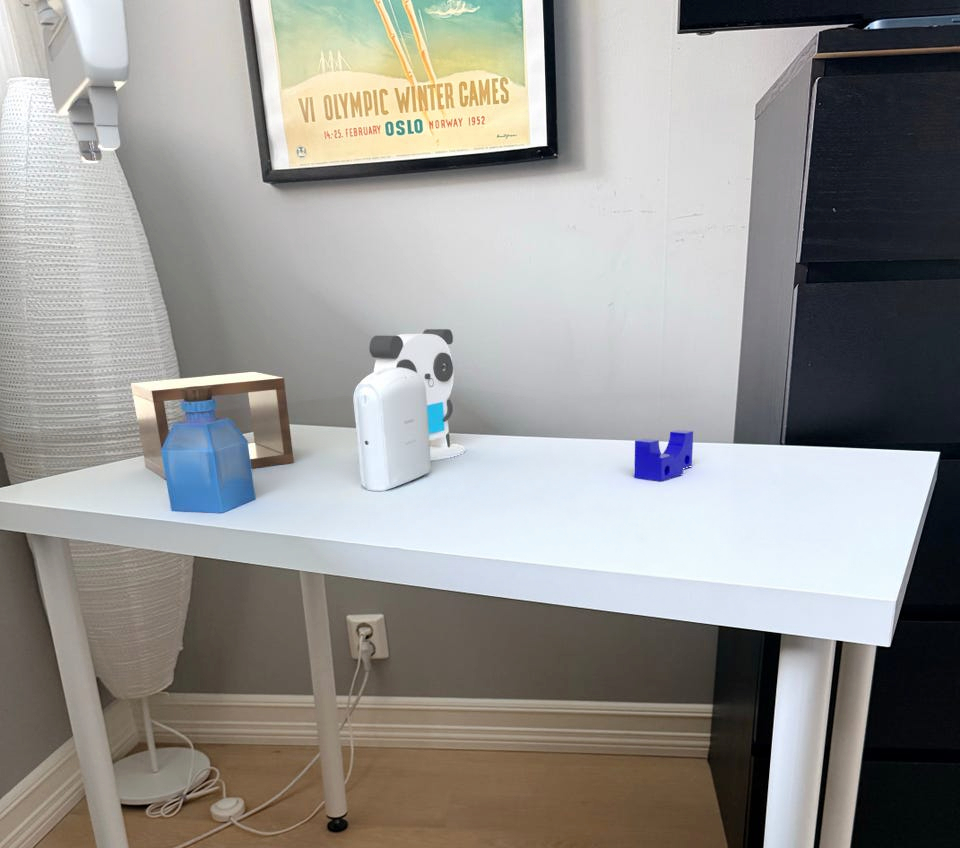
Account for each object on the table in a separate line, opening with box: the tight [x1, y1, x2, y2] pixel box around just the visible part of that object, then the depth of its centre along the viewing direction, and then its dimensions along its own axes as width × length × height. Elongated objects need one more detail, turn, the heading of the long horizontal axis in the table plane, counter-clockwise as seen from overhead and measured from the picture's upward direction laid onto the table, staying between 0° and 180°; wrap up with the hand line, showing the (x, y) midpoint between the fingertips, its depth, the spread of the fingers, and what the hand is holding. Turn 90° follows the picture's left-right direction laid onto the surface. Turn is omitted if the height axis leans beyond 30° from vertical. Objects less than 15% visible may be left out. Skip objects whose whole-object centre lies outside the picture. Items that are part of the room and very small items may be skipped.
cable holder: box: [634, 429, 694, 482], centre depth 101 cm, size 8×4×4 cm, turn 135°
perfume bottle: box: [161, 386, 256, 514], centre depth 95 cm, size 6×6×12 cm
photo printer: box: [352, 367, 432, 492], centre depth 102 cm, size 10×4×12 cm, turn 153°
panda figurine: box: [368, 328, 466, 461], centre depth 117 cm, size 12×11×15 cm
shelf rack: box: [130, 371, 295, 481], centre depth 117 cm, size 16×12×10 cm
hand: (100, 156), depth 88 cm, fingers open, 8 cm apart
